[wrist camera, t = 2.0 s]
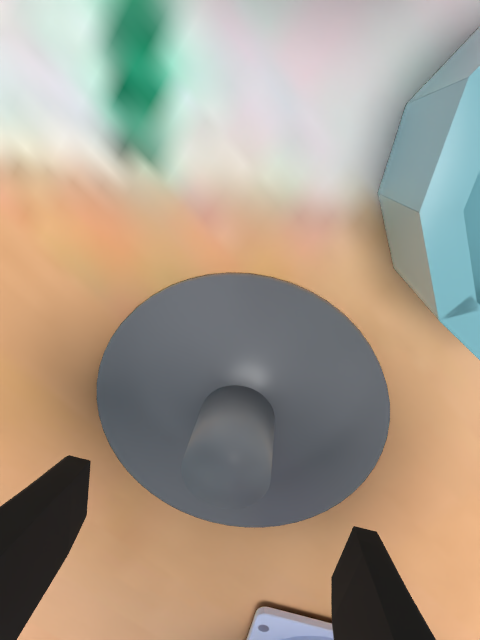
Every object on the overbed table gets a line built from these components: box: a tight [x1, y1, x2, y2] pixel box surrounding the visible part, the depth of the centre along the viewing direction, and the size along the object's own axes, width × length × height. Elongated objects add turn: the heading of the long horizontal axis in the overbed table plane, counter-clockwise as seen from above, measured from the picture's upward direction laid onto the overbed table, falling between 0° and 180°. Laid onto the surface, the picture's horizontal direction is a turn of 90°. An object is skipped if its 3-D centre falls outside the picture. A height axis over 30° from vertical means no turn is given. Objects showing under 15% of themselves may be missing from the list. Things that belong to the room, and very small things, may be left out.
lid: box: [97, 273, 390, 527], centre depth 15 cm, size 11×11×4 cm
